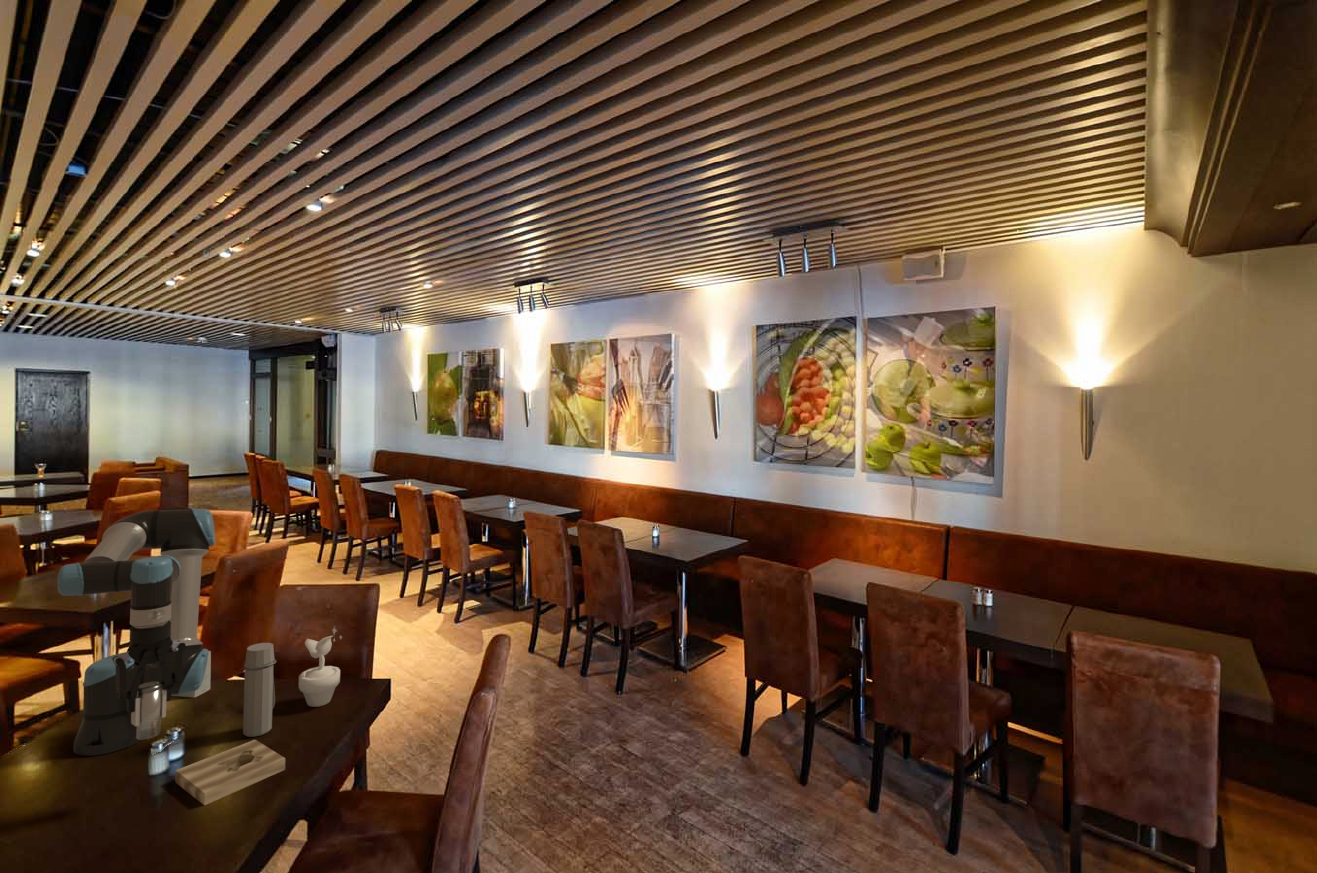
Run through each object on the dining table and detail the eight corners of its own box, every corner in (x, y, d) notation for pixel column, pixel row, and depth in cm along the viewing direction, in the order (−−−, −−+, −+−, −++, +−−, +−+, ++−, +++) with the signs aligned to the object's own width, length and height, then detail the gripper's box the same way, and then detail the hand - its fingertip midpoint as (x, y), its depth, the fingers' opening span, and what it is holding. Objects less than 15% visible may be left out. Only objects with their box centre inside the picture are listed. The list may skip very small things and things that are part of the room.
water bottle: (258, 740, 169) (260, 652, 169) (234, 736, 171) (237, 649, 170) (284, 724, 178) (286, 641, 178) (262, 721, 180) (264, 638, 179)
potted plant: (346, 701, 194) (349, 624, 194) (310, 715, 185) (312, 634, 184) (325, 690, 201) (327, 617, 201) (289, 703, 191) (291, 626, 191)
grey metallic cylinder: (133, 735, 142) (134, 686, 142) (156, 728, 146) (157, 679, 146) (140, 741, 140) (141, 691, 140) (163, 733, 144) (164, 684, 144)
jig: (175, 782, 149) (175, 770, 149) (254, 750, 164) (254, 739, 164) (204, 805, 140) (204, 793, 140) (285, 769, 156) (285, 758, 156)
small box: (210, 689, 199) (211, 650, 199) (194, 698, 193) (195, 658, 192) (188, 687, 200) (189, 649, 200) (171, 696, 193) (172, 656, 193)
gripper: (108, 637, 133) (106, 740, 134) (200, 617, 148) (198, 710, 148) (96, 629, 137) (94, 730, 138) (187, 611, 152) (185, 701, 152)
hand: (148, 719), depth 143 cm, fingers closed on grey metallic cylinder, 4 cm apart
